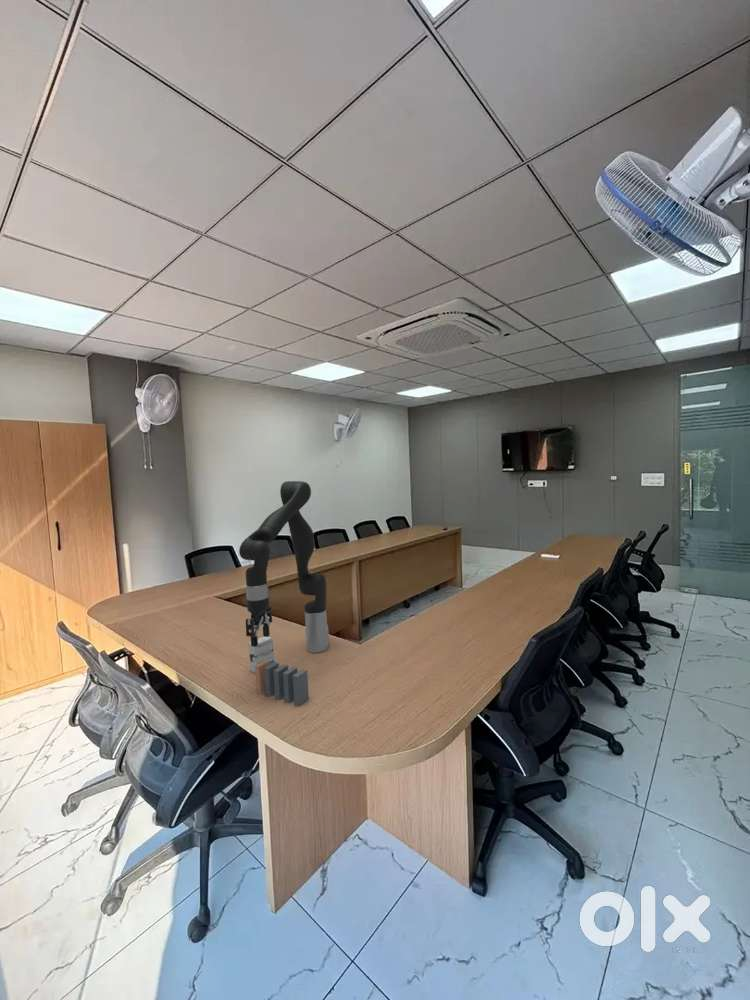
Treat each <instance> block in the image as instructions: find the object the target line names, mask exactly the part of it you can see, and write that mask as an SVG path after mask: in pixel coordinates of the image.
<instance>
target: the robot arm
mask: <svg viewBox="0 0 750 1000" xmlns="http://www.w3.org/2000/svg"><path fill="white" fill-rule="evenodd" d="M279 493H280V499H281V503H282V506H281V507H279V508H278V509H276V510H275V511H273V512H272V513H270V514H269V515H268V516H267V517H266V518H265V519H264V520H263V522H262V523H261V524H260V526H259V527H258V529H256V530H255V531H254V532H252V533H251V534H250V535H248V536H247V537H246V538H245V539H244V540H243V541H242V542H241V544H240V546H239V550H238V552H239V556H240V557H241V559H242V560H245V561H253V566H251V567H248V568H247V569H246V571H245V582H246V583H245V584H246V589H245V590H246V591H245V592H246V593H245V595H246V605H247V606H246V608H247V611H248V612H249V613H250V618H246V619H245V632H246V634H245V635H246V637H250V642H251V646H252V647H257V646H258V639H259V638H258V633H259V630H260V629H261V626H262V634H263V635H262V637H271V635H270V626H271V623H272V622H273V614H272V607H271V606H270V595H269V594H270V593H269V587H268V586H269V585H268V579H267V578H268V576H267V575H268V574H267V570H268V566H269V561H270V556H271V555H270V552H271V551H270V546H269V543H272V542H274V541H275V539H276V538H277V536H278V535H279V533H281V531H282V530H283V528H284V527H285V525H286V524H288V528H289V533H290V538H291V544H292V549H293V553H294V557H295V563H296V570H297V572H296V573H297V578H298V581H297V582H298V587H299V591H300V593H301V594H302V595H305V596H315V598H314V600H311V601H308V602H306V603H305V604H304V619H305V640H306V650H307V652H309V653H311V654H312V653H313V654H319V653H323V652H325V651H328V649H329V647H330V636H329V635H330V634H329V624H327V623H328V621H327V579H326V575H324V574H323V573H310V572H309V562H310V559H311V558H312V555H313V553H314V551H315V548H316V542H315V537H314V531H313V529H312V527H311V526H310V524H309V523H308V522H307V520H305V518H304V516H303V515H302V514H301V511H300V510H301V509H302V508H303V507H304V506H305V505H306V504H307V503H308V502H309V500H310V498H311V495H312V494H311V493H312V489H311V486H310V484H309V483H308V482H306V481H300V480H299V481H298V480H297V481H296V480H295V481H294V480H291V481H289V480H287V481H284V482H283V483H282V484H281V486H280V491H279Z"/></svg>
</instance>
